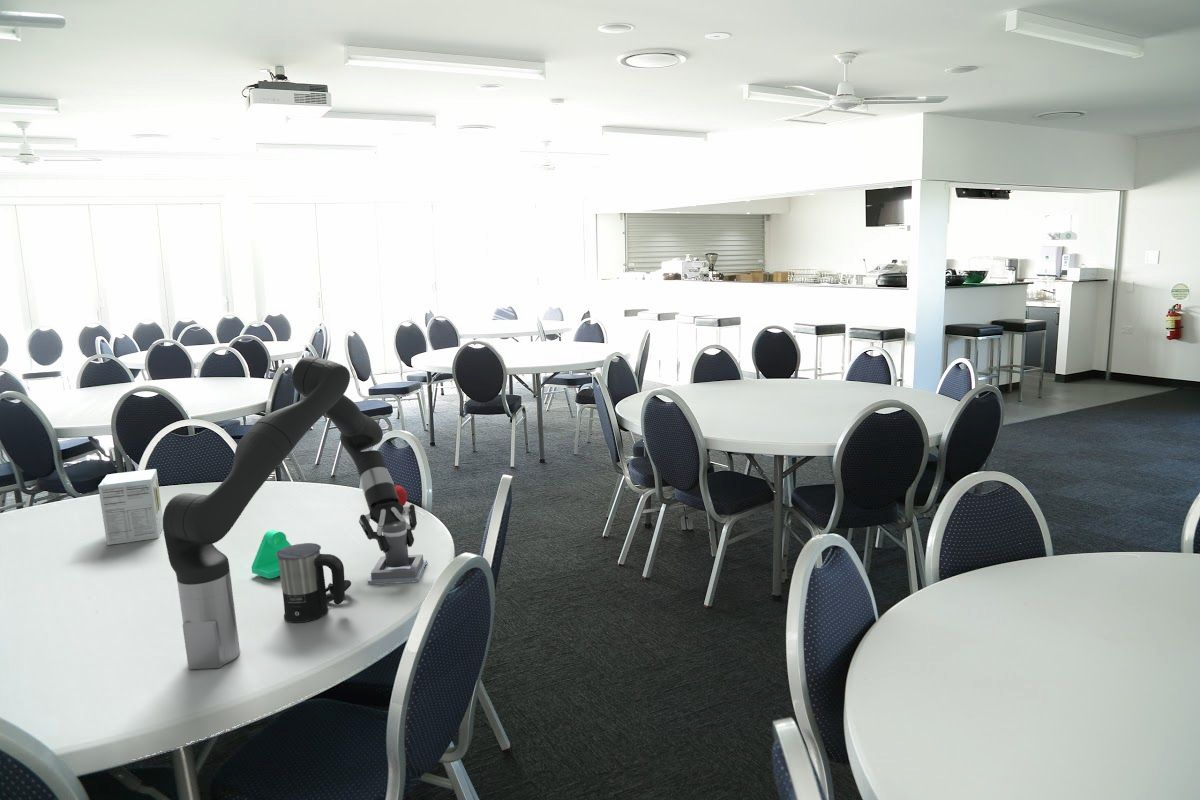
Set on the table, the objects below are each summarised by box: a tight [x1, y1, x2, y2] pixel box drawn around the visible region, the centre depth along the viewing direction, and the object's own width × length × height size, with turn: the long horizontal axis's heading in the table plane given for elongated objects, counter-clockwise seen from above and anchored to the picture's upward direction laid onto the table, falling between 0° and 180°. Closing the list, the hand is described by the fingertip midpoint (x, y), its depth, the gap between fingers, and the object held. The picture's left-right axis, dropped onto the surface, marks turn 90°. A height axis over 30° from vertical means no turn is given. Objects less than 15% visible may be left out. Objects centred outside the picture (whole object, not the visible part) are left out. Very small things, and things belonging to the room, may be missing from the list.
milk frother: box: [276, 542, 352, 623], centre depth 181 cm, size 14×16×15 cm
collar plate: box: [367, 554, 428, 585], centre depth 199 cm, size 12×12×2 cm
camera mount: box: [251, 529, 292, 579], centre depth 203 cm, size 12×8×10 cm, turn 145°
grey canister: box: [382, 521, 409, 568], centre depth 198 cm, size 6×6×10 cm
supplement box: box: [97, 468, 164, 546], centre depth 233 cm, size 13×13×18 cm
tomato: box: [394, 483, 408, 507], centre depth 249 cm, size 9×9×8 cm
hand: (398, 548), depth 197 cm, fingers closed on grey canister, 5 cm apart
